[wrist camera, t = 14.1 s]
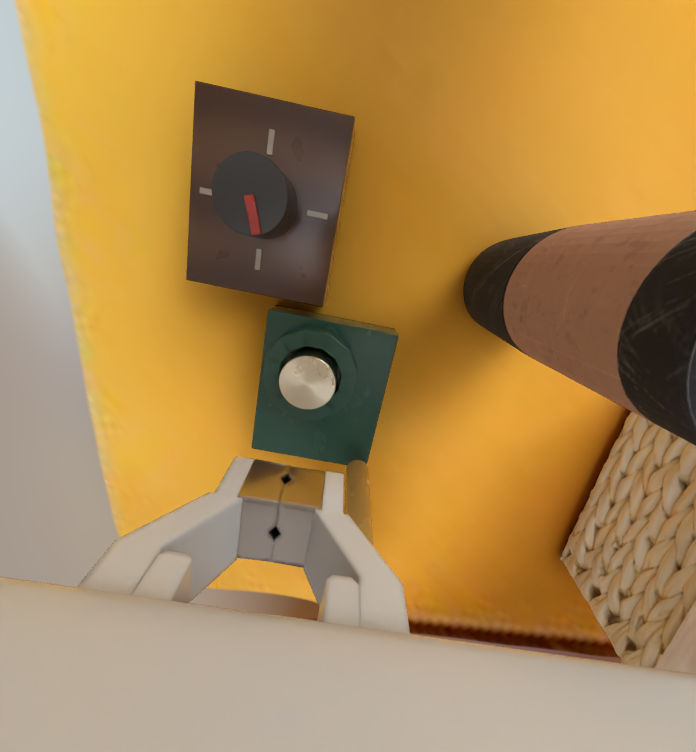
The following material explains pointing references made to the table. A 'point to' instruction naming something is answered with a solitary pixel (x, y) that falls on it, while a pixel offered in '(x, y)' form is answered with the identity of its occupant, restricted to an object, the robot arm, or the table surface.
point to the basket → (642, 548)
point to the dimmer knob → (253, 195)
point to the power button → (308, 379)
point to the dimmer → (299, 165)
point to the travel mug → (602, 309)
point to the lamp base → (352, 393)
